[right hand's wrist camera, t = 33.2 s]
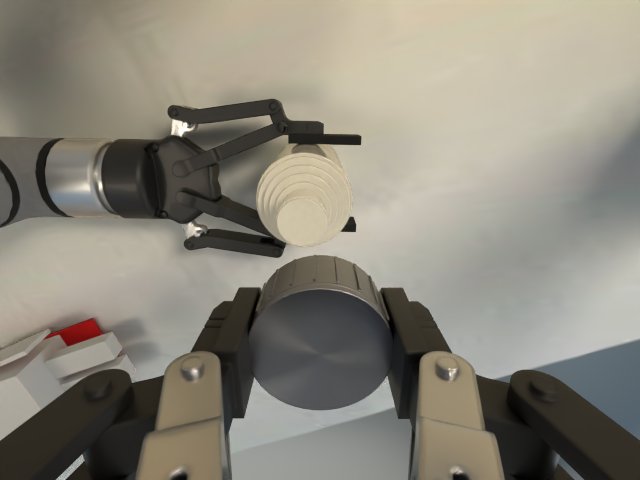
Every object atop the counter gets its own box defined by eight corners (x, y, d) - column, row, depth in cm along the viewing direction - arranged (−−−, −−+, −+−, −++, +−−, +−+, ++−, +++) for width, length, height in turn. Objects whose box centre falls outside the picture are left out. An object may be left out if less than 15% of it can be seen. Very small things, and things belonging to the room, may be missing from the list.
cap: (301, 378, 13) (297, 431, 11) (233, 292, 12) (213, 333, 10) (403, 328, 13) (421, 373, 10) (342, 229, 11) (348, 258, 9)
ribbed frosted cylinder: (271, 140, 38) (233, 167, 20) (338, 135, 38) (359, 158, 20) (279, 205, 41) (251, 279, 23) (341, 200, 41) (362, 272, 23)
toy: (125, 426, 40) (-132, 518, 39) (160, 355, 52) (-33, 422, 51) (70, 342, 36) (-219, 442, 35) (122, 287, 48) (-88, 359, 47)
